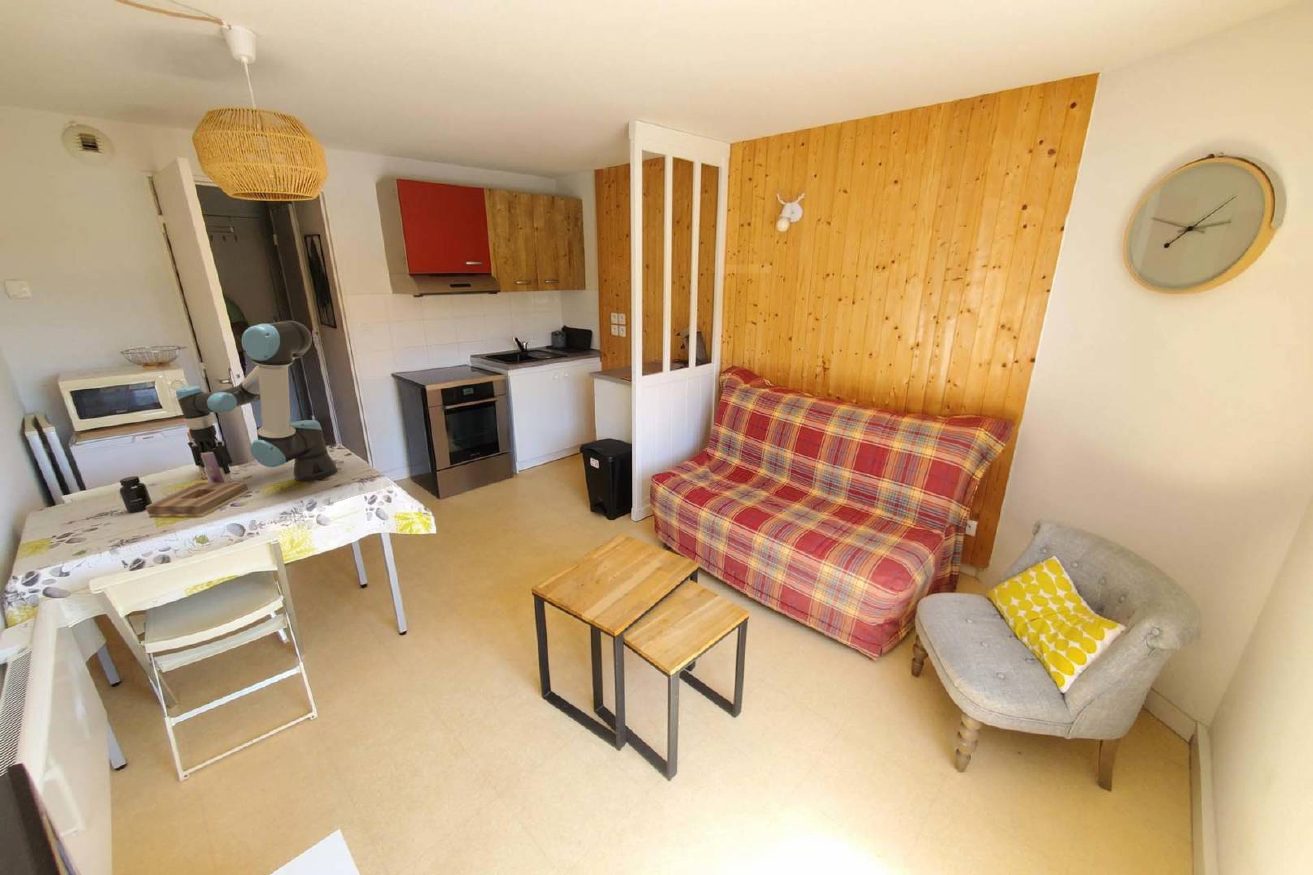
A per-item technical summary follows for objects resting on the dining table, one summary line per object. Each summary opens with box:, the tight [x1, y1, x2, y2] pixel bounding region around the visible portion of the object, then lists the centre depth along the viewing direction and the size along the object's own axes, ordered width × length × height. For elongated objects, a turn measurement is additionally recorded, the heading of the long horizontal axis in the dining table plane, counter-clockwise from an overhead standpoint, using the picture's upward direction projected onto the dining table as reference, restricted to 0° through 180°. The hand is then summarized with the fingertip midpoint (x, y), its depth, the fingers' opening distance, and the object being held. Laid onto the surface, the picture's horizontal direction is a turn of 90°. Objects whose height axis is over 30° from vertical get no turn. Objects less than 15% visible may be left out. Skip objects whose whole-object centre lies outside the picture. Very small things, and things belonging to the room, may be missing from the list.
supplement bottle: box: [119, 475, 153, 513], centre depth 182 cm, size 7×7×12 cm
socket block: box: [145, 481, 250, 518], centre depth 186 cm, size 20×20×4 cm
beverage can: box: [201, 448, 232, 483], centre depth 199 cm, size 6×6×15 cm
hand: (220, 481), depth 201 cm, fingers closed on beverage can, 6 cm apart
